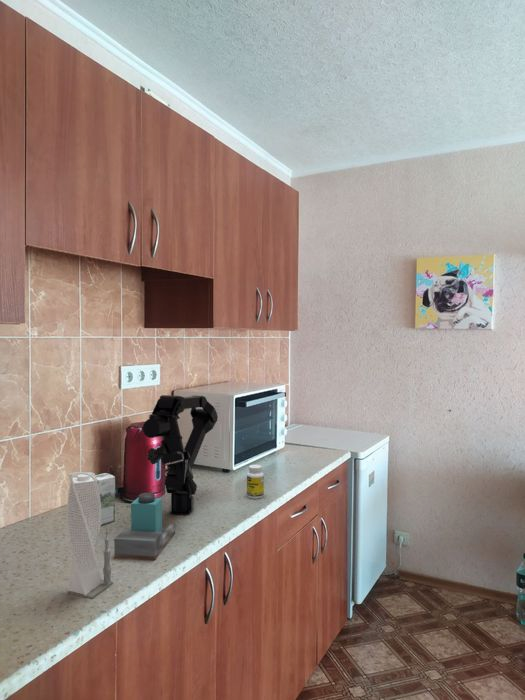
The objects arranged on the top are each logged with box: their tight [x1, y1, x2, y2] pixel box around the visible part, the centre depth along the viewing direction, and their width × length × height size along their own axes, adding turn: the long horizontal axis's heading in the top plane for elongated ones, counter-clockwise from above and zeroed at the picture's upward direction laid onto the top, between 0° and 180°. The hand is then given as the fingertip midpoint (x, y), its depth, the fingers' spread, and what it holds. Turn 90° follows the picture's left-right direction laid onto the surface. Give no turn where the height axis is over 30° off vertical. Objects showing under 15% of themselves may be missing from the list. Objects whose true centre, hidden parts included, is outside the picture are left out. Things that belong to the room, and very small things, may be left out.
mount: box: [113, 523, 176, 561], centre depth 136 cm, size 17×11×5 cm, turn 172°
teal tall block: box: [130, 492, 163, 532], centre depth 136 cm, size 5×7×13 cm
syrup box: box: [95, 472, 116, 526], centre depth 152 cm, size 6×6×14 cm
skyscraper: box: [66, 471, 114, 600], centre depth 112 cm, size 8×8×28 cm
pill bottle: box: [246, 464, 265, 500], centre depth 176 cm, size 6×6×11 cm
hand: (182, 484), depth 150 cm, fingers closed
